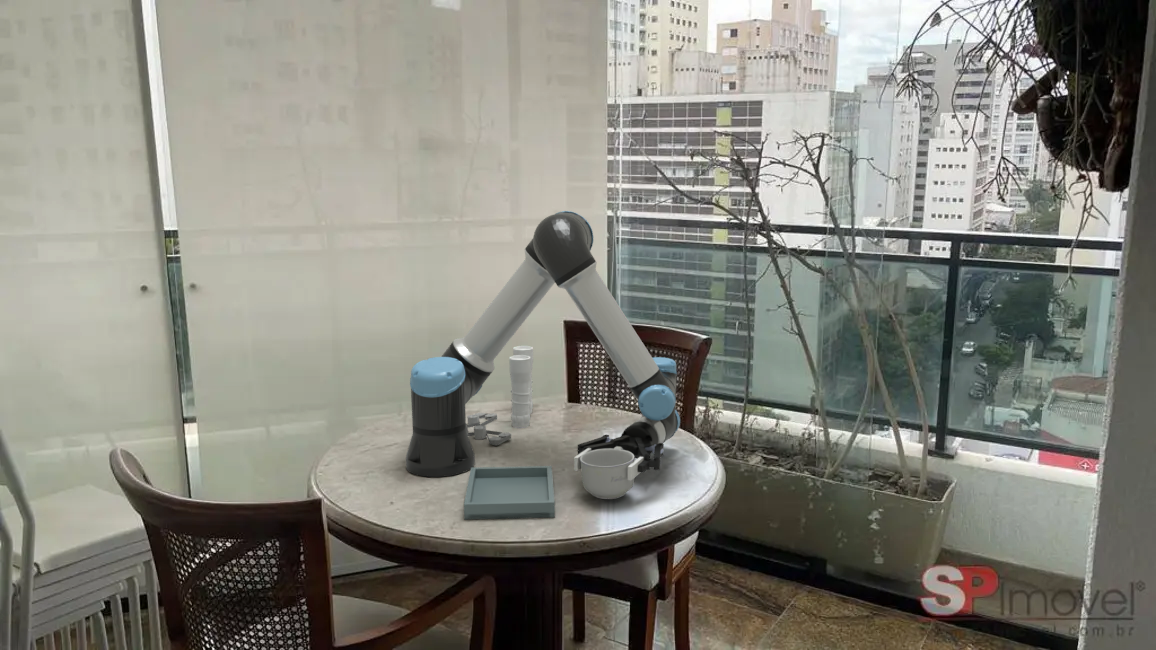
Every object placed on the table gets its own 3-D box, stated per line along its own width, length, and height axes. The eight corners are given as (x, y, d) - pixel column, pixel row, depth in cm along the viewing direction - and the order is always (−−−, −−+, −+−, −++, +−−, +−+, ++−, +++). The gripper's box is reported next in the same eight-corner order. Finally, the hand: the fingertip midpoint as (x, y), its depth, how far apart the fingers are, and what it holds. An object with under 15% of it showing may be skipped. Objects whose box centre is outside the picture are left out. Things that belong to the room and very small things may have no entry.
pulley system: (451, 455, 196) (514, 446, 200) (450, 435, 195) (513, 427, 199) (439, 425, 222) (495, 418, 226) (437, 408, 222) (493, 401, 225)
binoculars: (530, 428, 213) (529, 359, 210) (509, 428, 213) (508, 359, 210) (534, 409, 230) (533, 345, 227) (514, 409, 230) (513, 345, 227)
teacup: (617, 508, 160) (618, 468, 158) (569, 496, 165) (569, 458, 164) (650, 485, 172) (651, 448, 170) (604, 475, 177) (604, 439, 176)
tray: (464, 519, 157) (463, 504, 157) (471, 481, 177) (471, 467, 176) (554, 517, 158) (554, 502, 158) (551, 479, 178) (551, 465, 177)
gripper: (693, 462, 179) (657, 497, 160) (594, 446, 189) (549, 477, 170) (694, 428, 178) (658, 459, 158) (594, 414, 188) (549, 441, 168)
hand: (602, 468), depth 164 cm, fingers closed on teacup, 11 cm apart
